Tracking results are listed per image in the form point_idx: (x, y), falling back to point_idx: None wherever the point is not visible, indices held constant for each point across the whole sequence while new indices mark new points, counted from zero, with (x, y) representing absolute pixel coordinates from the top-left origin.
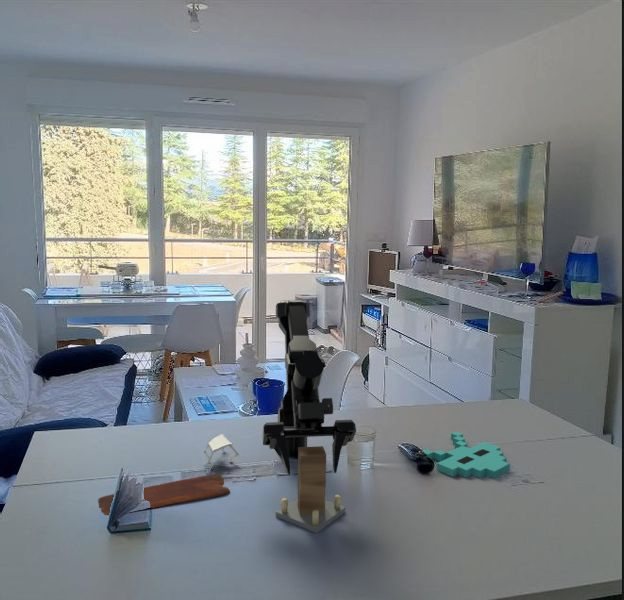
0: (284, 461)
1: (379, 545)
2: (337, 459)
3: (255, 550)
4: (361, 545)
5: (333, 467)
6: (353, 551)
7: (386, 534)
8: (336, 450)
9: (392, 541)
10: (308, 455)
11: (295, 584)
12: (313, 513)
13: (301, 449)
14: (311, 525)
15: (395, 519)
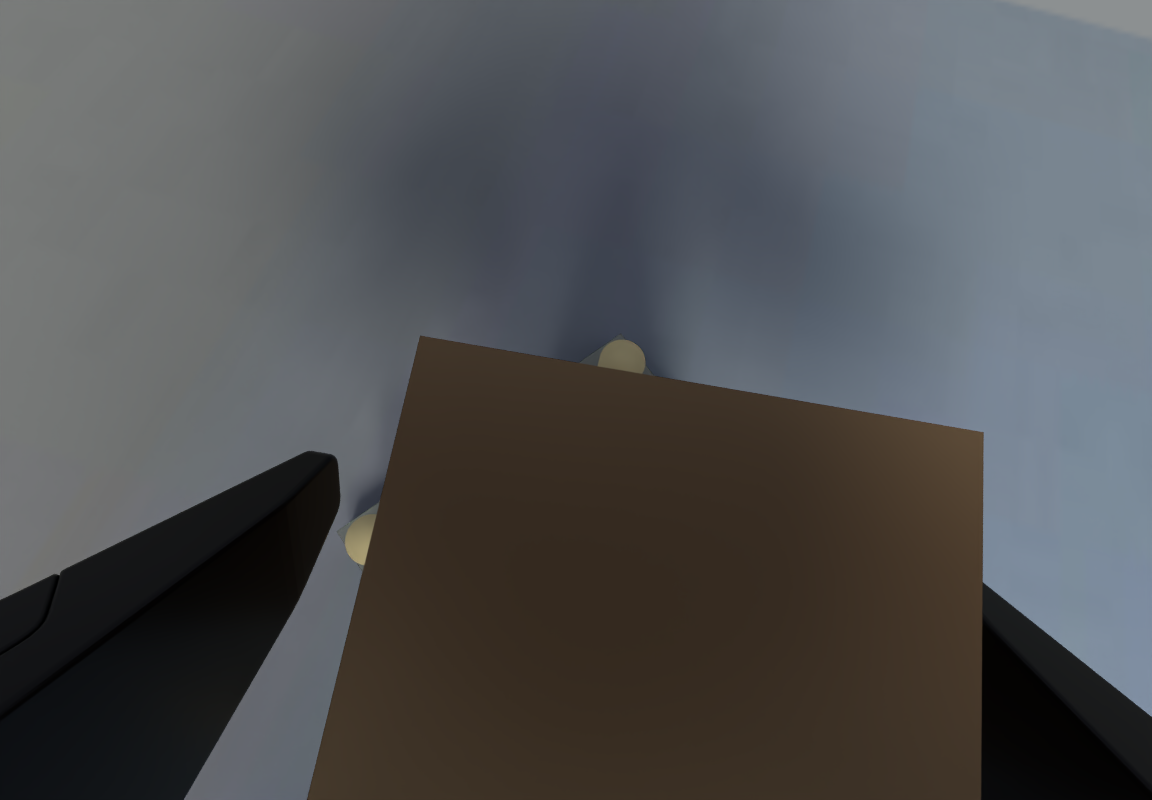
0: (1121, 693)
1: (328, 149)
2: (188, 520)
3: (980, 285)
4: (420, 174)
5: (308, 550)
6: (483, 141)
7: (234, 227)
8: (56, 639)
9: (241, 161)
10: (811, 407)
11: (824, 7)
12: (641, 351)
13: (918, 784)
14: (643, 373)
15: (83, 355)
